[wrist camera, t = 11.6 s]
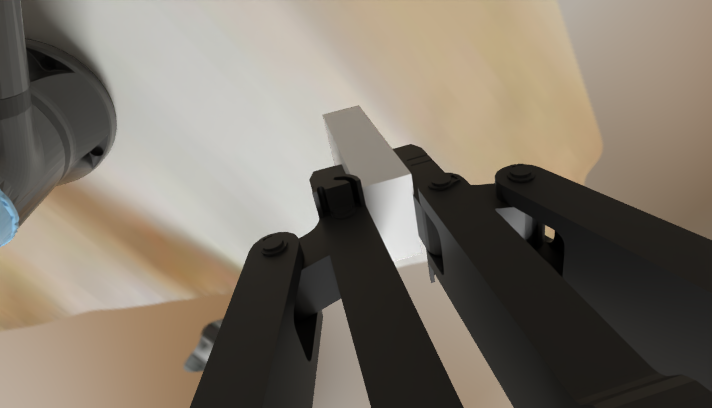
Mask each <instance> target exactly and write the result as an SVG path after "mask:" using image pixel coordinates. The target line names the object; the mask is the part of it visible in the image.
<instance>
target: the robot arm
mask: <svg viewBox="0 0 712 408" xmlns="http://www.w3.org/2000/svg"><path fill="white" fill-rule="evenodd" d="M323 119H324V123H325V127H326V131H327V135H328V139H329V144H330V148H331V152H332V156H333V160H334V164H335V166H332V167H329V168H325V169H321V170H318V171H314V172H313V174H312V176H311V178H310V184H311V187H312V191H313V192H312V194H313V197H314V201H315V204H316V208H317V211H318V215H319V222H318V224H317V226H316V227H315V228H314V229H313V230H312V231H311V232H309V233H308V234H306V235H304V236H303V237H301V238H298V237H297V236H296V235H295V234H292V233H289V232H278V233H274V234H270V235H267V236H265V237H263V238H262V239H260V240H259V241H257V242H256V243H255V244H254V245H253V246H252V248H251V249H250V251H249V253H248V256H247V259H246V261H245V264H244V267H243V269H242V272H241V274H240V277H239V280H238V282H237V285H236V288H235V290H234V293H233V295H232V298H231V301H230V303H229V306H228V309H227V311H226V314H225V316H224V319H223V322H222V324H221V327H220V330H219V332H218V335H217V337H216V340H215V343H214V345H213V348H212V351H211V353H210V356H209V359H208V361H207V364H206V366H205V369H204V372H203V374H202V377H201V380H200V382H199V385H198V388H197V390H196V393H195V395H194V398H193V401H192V403H191V406H190V408H312V404H313V396H314V388H315V379H316V371H317V362H318V354H319V346H320V337H321V329H322V320H323V314H322V309H324V308H325V307H327V306H329V305H330V304H332V303H334V302H335V301H337V300H339V299H340V298H341V299H342V302H343V306H344V310H345V313H346V317H347V321H348V324H349V328H350V332H351V335H352V339H353V343H354V346H355V350H356V354H357V357H358V361H359V364H360V368H361V372H362V375H363V379H364V383H365V386H366V390H367V393H368V398H369V401H370V405H371V408H463V405H462V403H461V402H460V399H459V397H458V395H457V393H456V391H455V389H454V387H453V385H452V383H451V381H450V379H449V376H448V374H447V372H446V370H445V368H444V366H443V364H442V362H441V360H440V358H439V356H438V354H437V352H436V350H435V347H434V345H433V343H432V341H431V339H430V337H429V335H428V333H427V331H426V329H425V327H424V325H423V323H422V321H421V318H420V317H419V314H418V312H417V310H416V308H415V306H414V304H413V302H412V300H411V298H410V296H409V294H408V291H407V289H406V287H405V285H404V283H403V281H402V279H401V277H400V275H399V273H398V271H397V269H396V267H395V265H394V262H395V261H398V260H401V259H405V258H408V257H412V256H415V255H418V254H422V246H421V240H422V242H423V244H424V245H425V247H426V252H427V259H428V267H429V274H430V280H431V283H433V282H435V279H434V275H436V276H437V278H438V280H439V282H440V283H441V285H442V286H443V288H444V290H445V292H446V293H447V295H448V297H449V299H450V300H451V302H452V304H453V305H454V307H455V309H456V310H457V312H458V314H459V315H460V317H461V319H462V321H463V322H464V324H465V326H466V327H467V329H468V331H469V332H470V334H471V336H472V338H473V339H474V341H475V343H476V344H477V346H478V348H479V349H480V351H481V353H482V354H483V356H484V358H485V360H486V361H487V363H488V364H489V366H490V368H491V370H492V371H493V373H494V375H495V377H496V378H497V380H498V381H499V383H500V385H501V386H502V388H503V390H504V392H505V393H506V395H507V397H508V399H509V400H510V402H511V404H512V405H513V407H514V408H712V240H710V239H707V238H705V237H703V236H700V235H698V234H695V233H693V232H691V231H688V230H686V229H684V228H681V227H679V226H676V225H674V224H672V223H669V222H667V221H665V220H662V219H660V218H658V217H655V216H653V215H651V214H648V213H646V212H644V211H641V210H639V209H637V208H634V207H632V206H629V205H627V204H624V203H623V202H620V201H618V200H615V199H613V198H611V197H608V196H606V195H604V194H601V193H599V192H596V191H594V190H592V189H590V188H587V187H585V186H582V185H580V184H578V183H575V182H573V181H571V180H568V179H566V178H564V177H561V176H559V175H557V174H554V173H552V172H549V171H547V170H545V169H542V168H540V167H537V166H533V165H526V164H517V165H516V164H514V165H510V166H507V167H504V168H502V169H500V170H499V171H497V173H496V175H495V183H494V184H483V185H470V184H469V183H468V182H467V181H466V180H465V179H464V178H463V177H461V176H460V175H458V174H453V173H445V172H444V171H443V170H442V169H441V168H440V167H439V166H438V165H437V164H436V163H435V162H434V161H432V159H431V157H430V156H429V155H427V153H426V152H425V151H424V150H423V149H422V148H420V147H418V146H415V145H412V144H409V145H406V146H402V147H398V148H395V149H392V148H391V147H390V145H389V144H388V143H387V141H386V140H385V139H384V138H383V136H382V135H381V134H380V132H379V131H378V130H377V128H376V127H375V126H374V125H373V123H372V122H371V121H370V119H369V118H368V117H367V115H366V114H365V113H364V112H363V110H362V109H361V108H360V106H359V105H358V106H354V107H351V108H347V109H343V110H339V111H335V112H331V113H328V114H324V115H323ZM115 136H116V115H115V111H114V107H113V104H112V102H111V99H110V97H109V95H108V93H107V91H106V90H105V88H104V87H103V85H102V84H101V82H100V81H99V80H98V79H97V78H96V76H95V75H94V74H93V73H92V72H91V71H90V70H89V69H88V68H87V67H86V66H84V65H83V64H82V63H81V62H79V61H78V60H77V59H75V58H74V57H72V56H71V55H69V54H67V53H65V52H64V51H62V50H60V49H58V48H55V47H53V46H50V45H48V44H45V43H42V42H38V41H34V40H29V39H25V35H24V27H23V18H22V9H21V0H0V247H1V246H3V245H5V244H7V243H8V242H10V241H11V240H12V239H13V237H14V236H15V233H16V232H17V229H18V228H19V227H20V226H21V225H22V223H23V222H24V221H25V220H26V219H27V218H28V217H29V216H30V214H31V213H32V212H33V211H34V210H35V209H36V208H37V207H38V205H39V204H40V203H41V202H42V201H43V200H44V199H45V198H46V196H47V195H48V194H49V193H50V192H51V191H52V190H53V189H54V187H56V186H59V185H62V184H66V183H69V182H72V181H75V180H78V179H80V178H82V177H84V176H86V175H87V174H89V173H90V172H92V171H93V170H94V169H95V168H96V167H97V166H98V165H99V164H100V163H101V162H102V161H103V159H104V158H105V157H106V156H107V154H108V153H109V151H110V149H111V148H112V145H113V143H114V140H115ZM545 225H546V226H548V227H550V228H552V229H554V230H555V236H554V239H551V238H549V237H547V236H546V235H545Z"/></svg>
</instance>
